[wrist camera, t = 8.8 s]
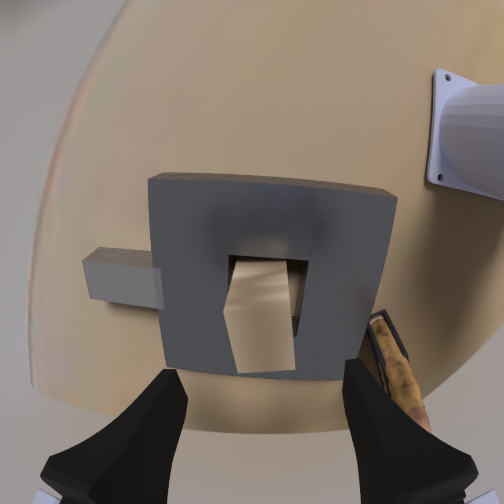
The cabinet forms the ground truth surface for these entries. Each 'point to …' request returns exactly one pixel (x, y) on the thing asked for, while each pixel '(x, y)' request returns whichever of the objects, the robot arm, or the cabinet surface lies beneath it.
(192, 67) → the cabinet surface
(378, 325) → the ammunition clip
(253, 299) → the oak wedge
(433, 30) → the cabinet surface
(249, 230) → the steel bracket head
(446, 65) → the cabinet surface
